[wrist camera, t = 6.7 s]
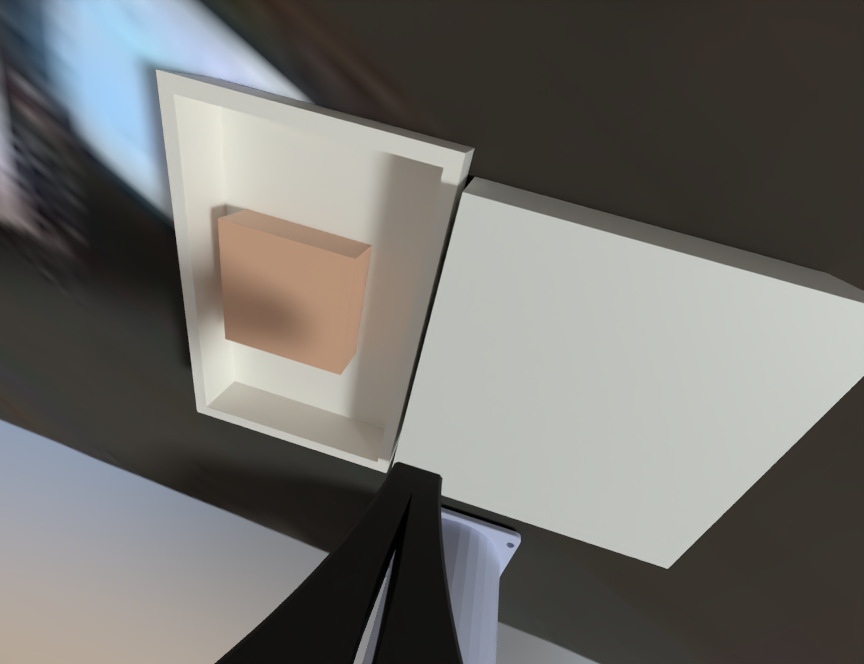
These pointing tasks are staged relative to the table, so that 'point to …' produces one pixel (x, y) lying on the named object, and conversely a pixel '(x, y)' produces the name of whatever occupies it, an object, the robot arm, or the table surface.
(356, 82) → the table surface
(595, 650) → the table surface
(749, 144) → the table surface
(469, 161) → the tray
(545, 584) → the table surface
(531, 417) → the board
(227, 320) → the tile
